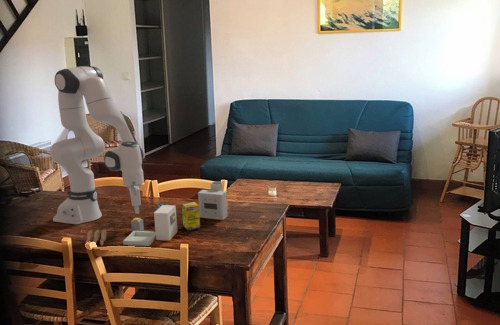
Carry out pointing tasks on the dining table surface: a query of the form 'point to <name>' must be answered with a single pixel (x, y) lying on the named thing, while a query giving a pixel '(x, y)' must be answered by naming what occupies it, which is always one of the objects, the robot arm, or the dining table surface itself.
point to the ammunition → (96, 236)
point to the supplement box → (191, 216)
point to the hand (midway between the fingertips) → (136, 209)
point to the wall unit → (165, 222)
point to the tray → (140, 238)
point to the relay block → (137, 224)
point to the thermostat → (213, 202)
